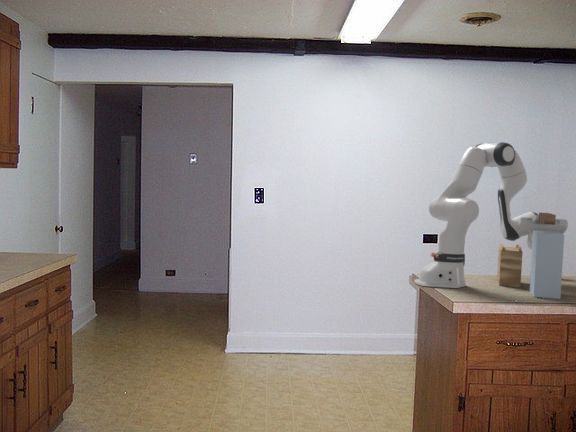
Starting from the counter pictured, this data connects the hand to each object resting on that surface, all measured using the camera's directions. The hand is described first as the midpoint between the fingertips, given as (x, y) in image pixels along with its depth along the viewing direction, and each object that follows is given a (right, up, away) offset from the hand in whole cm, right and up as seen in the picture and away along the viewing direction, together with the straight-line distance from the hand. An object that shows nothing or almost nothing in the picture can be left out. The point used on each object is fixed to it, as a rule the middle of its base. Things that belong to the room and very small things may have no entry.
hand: (544, 216), depth 261 cm
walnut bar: (-2, -3, -6) cm, 7 cm away
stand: (-5, -33, -10) cm, 34 cm away
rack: (-10, -31, +15) cm, 36 cm away
